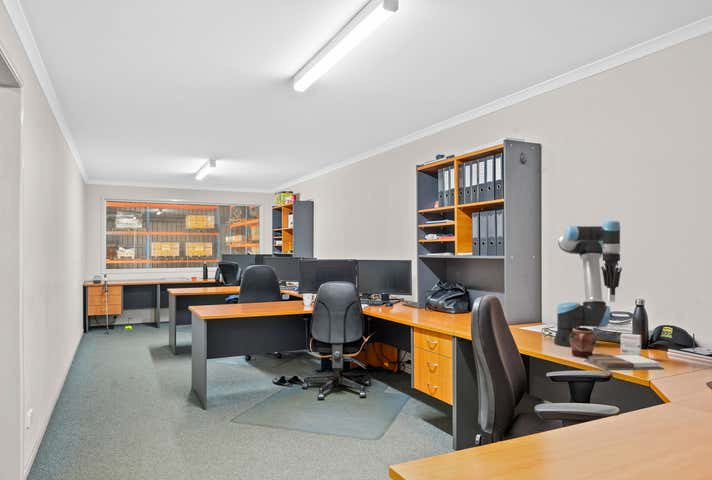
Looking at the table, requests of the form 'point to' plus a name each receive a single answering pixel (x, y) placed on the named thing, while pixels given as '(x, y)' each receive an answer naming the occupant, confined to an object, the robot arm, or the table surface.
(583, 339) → the decorative planter
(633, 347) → the ink box
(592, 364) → the underlay mat
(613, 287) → the robot arm
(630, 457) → the table surface
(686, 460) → the table surface
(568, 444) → the table surface
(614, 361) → the walnut plank
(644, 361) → the white flat board
